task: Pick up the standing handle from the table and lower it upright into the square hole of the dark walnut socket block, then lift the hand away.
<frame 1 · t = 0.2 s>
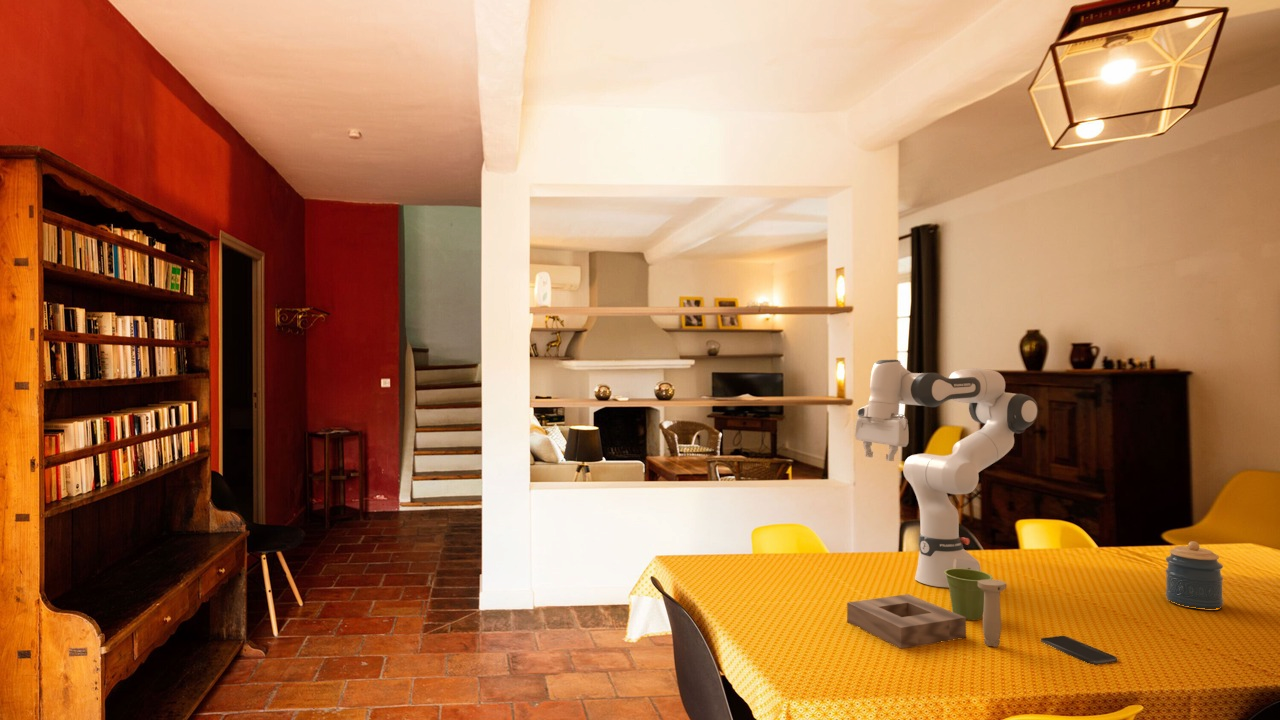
hand: (879, 458, 221), 39 cm above the table, tool pointing down, fingers open, 8 cm apart
handle: (991, 646, 177), on the table
socket block: (904, 629, 187), on the table
plant pot: (968, 617, 197), on the table
canister: (1193, 604, 209), on the table
phone: (1078, 653, 173), on the table
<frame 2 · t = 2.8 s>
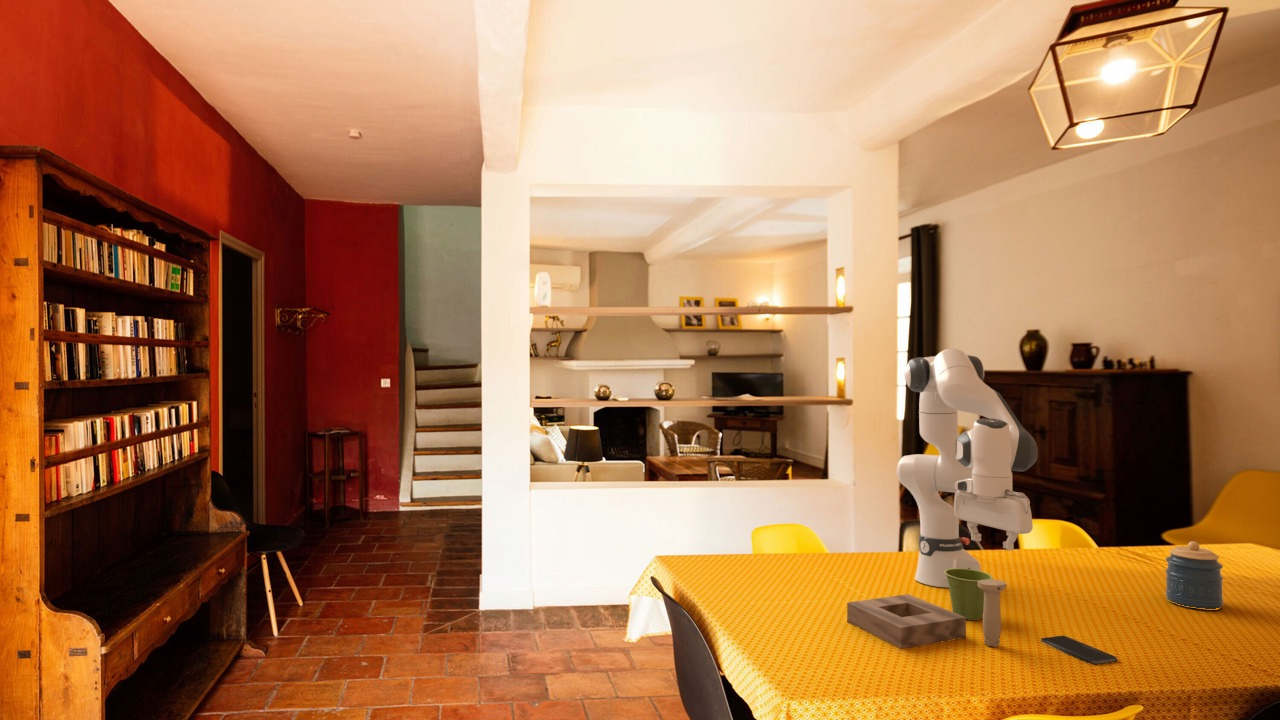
hand: (991, 545, 177), 24 cm above the table, tool pointing down, fingers open, 8 cm apart
nothing on the table moved.
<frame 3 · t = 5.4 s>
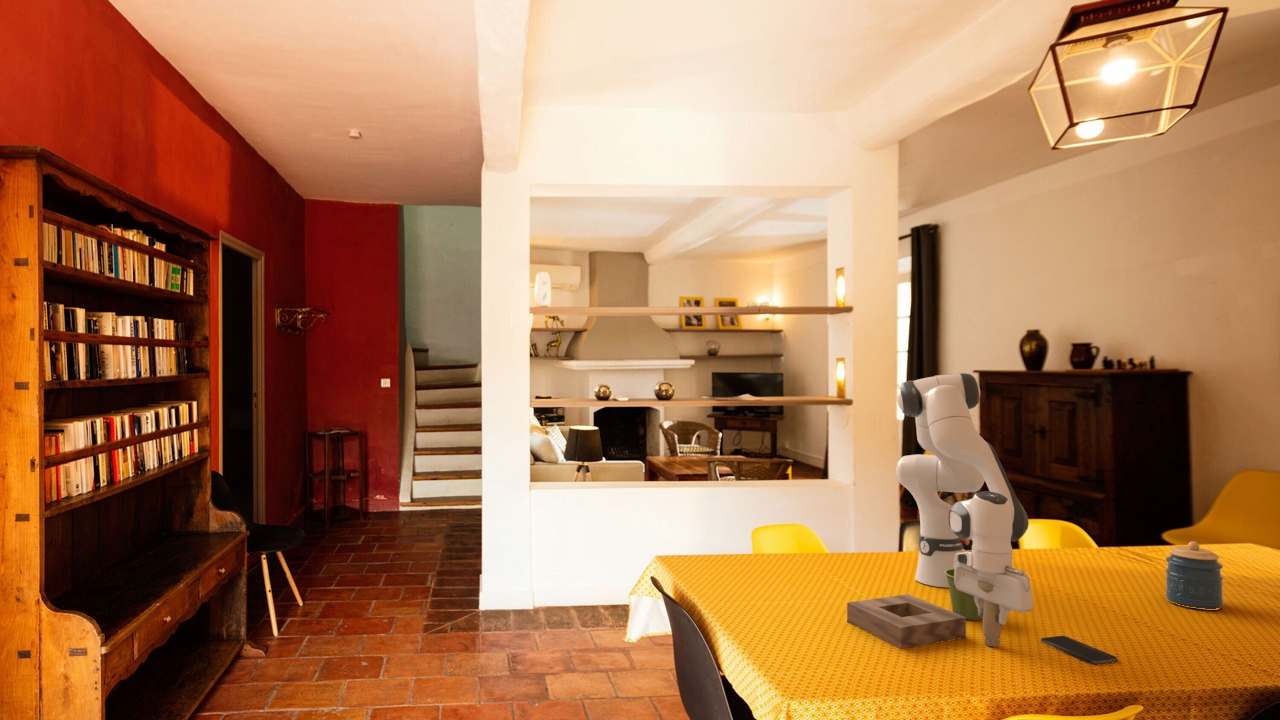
hand: (991, 619, 177), 6 cm above the table, tool pointing down, fingers closed on handle, 4 cm apart
handle: (991, 646, 177), on the table, touching gripper
everything else where it was.
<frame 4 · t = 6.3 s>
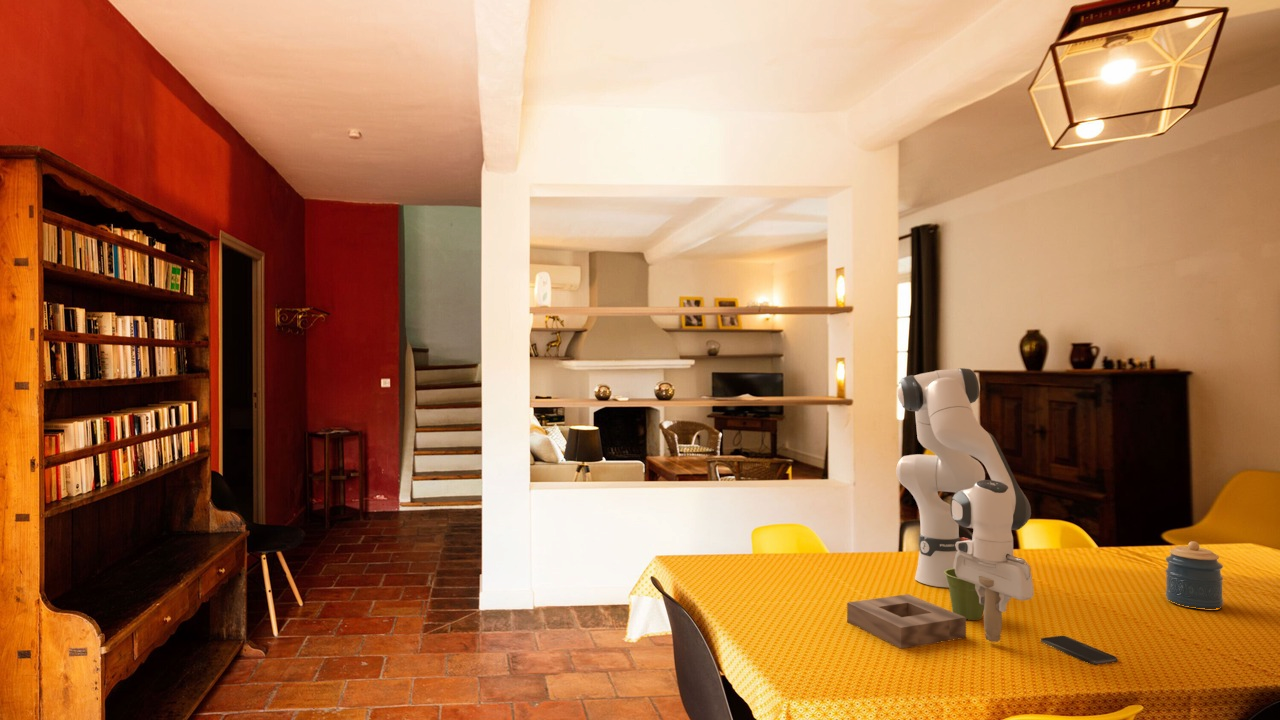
hand: (992, 607, 177), 9 cm above the table, tool pointing down, fingers closed on handle, 3 cm apart
handle: (992, 640, 177), point 1 cm above the table, touching gripper
everything else where it was.
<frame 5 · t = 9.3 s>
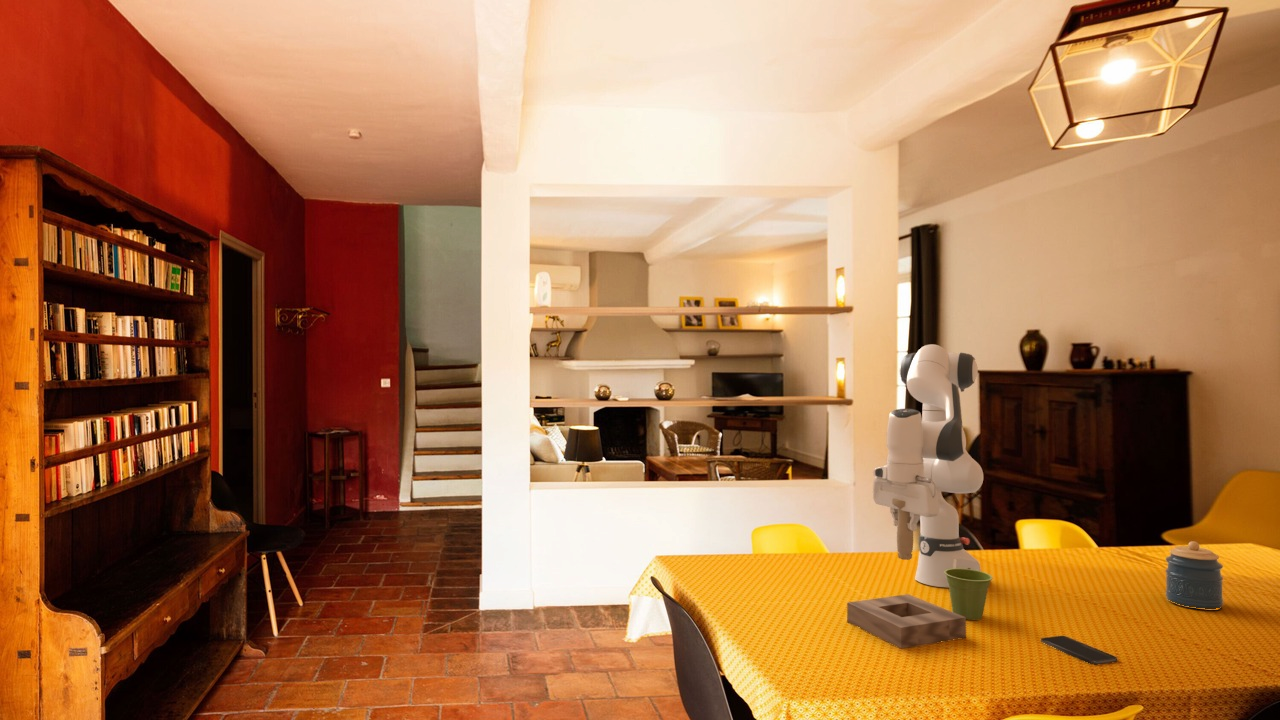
hand: (905, 528, 187), 26 cm above the table, tool pointing down, fingers closed on handle, 3 cm apart
handle: (905, 559, 187), point 18 cm above the table, touching gripper
everything else where it was.
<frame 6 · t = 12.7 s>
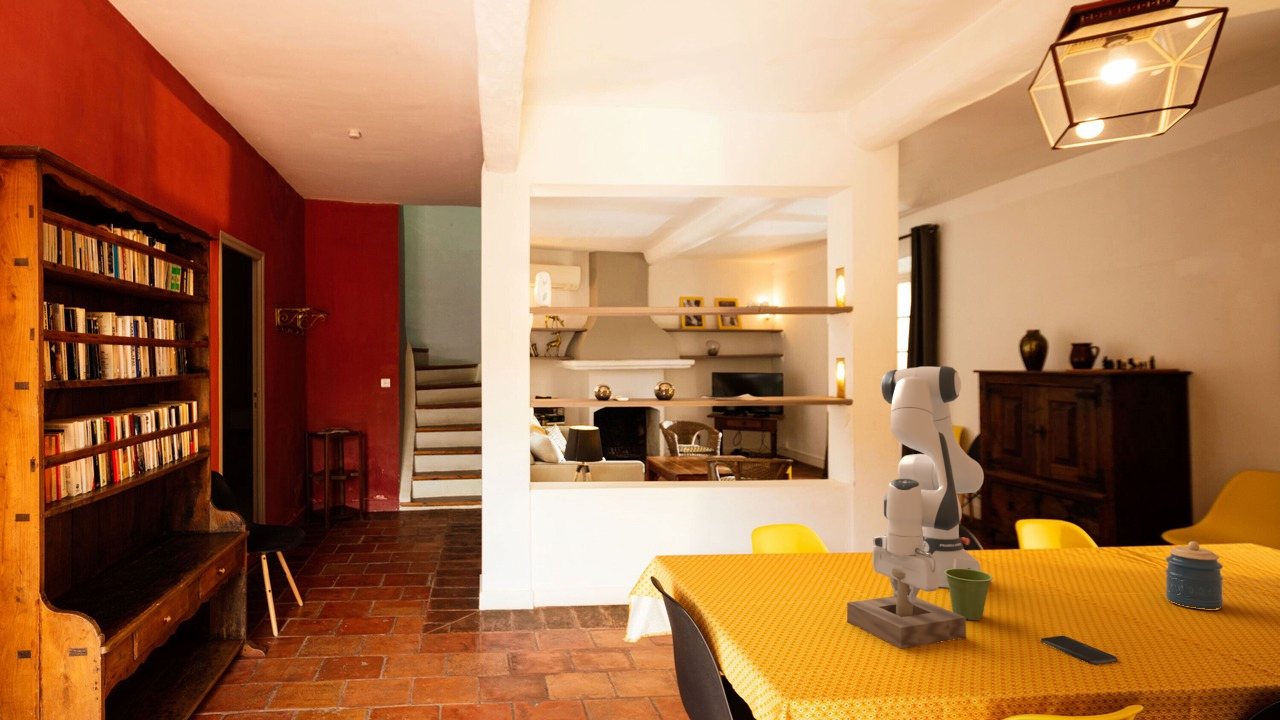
hand: (904, 599, 187), 8 cm above the table, tool pointing down, fingers closed on handle, 3 cm apart
handle: (904, 630, 187), resting in socket block, touching gripper
everything else where it was.
when the fingers open (8 cm above the table, at t = 12.7 s): handle stays where it is, resting in socket block.
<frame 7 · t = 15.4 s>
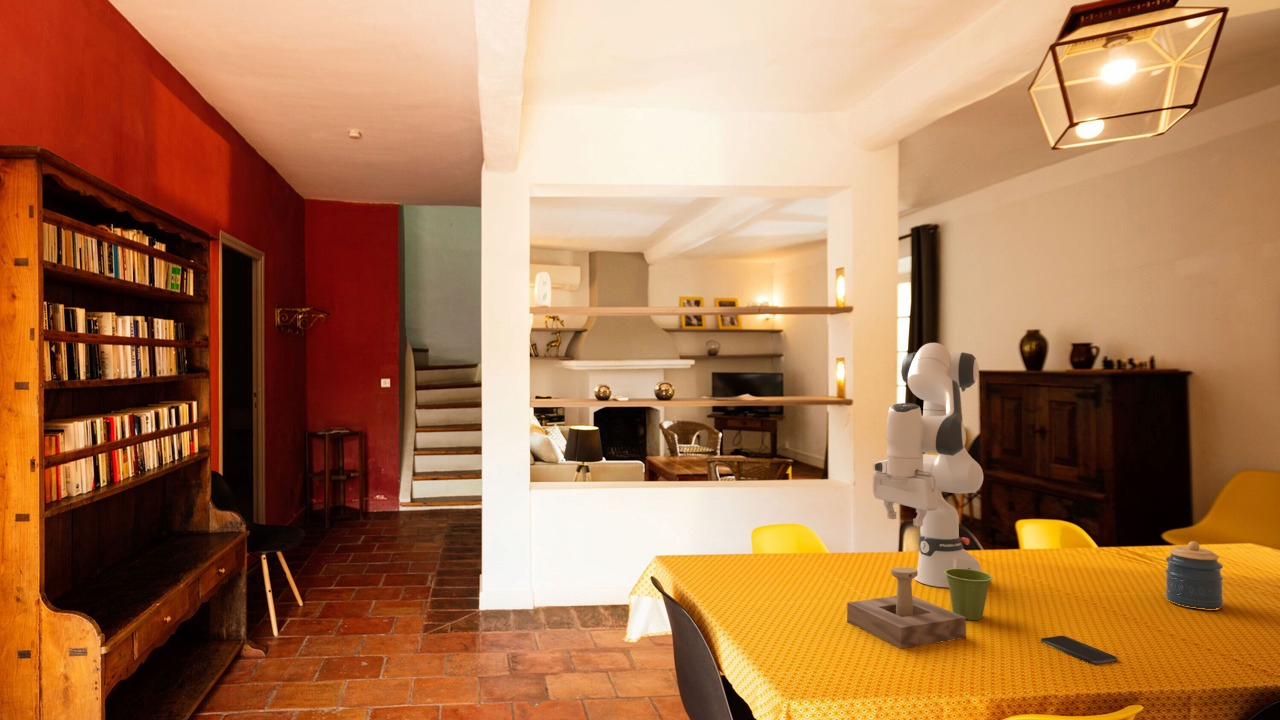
hand: (904, 522, 188), 27 cm above the table, tool pointing down, fingers open, 8 cm apart
handle: (904, 630, 187), resting in socket block
everything else where it was.
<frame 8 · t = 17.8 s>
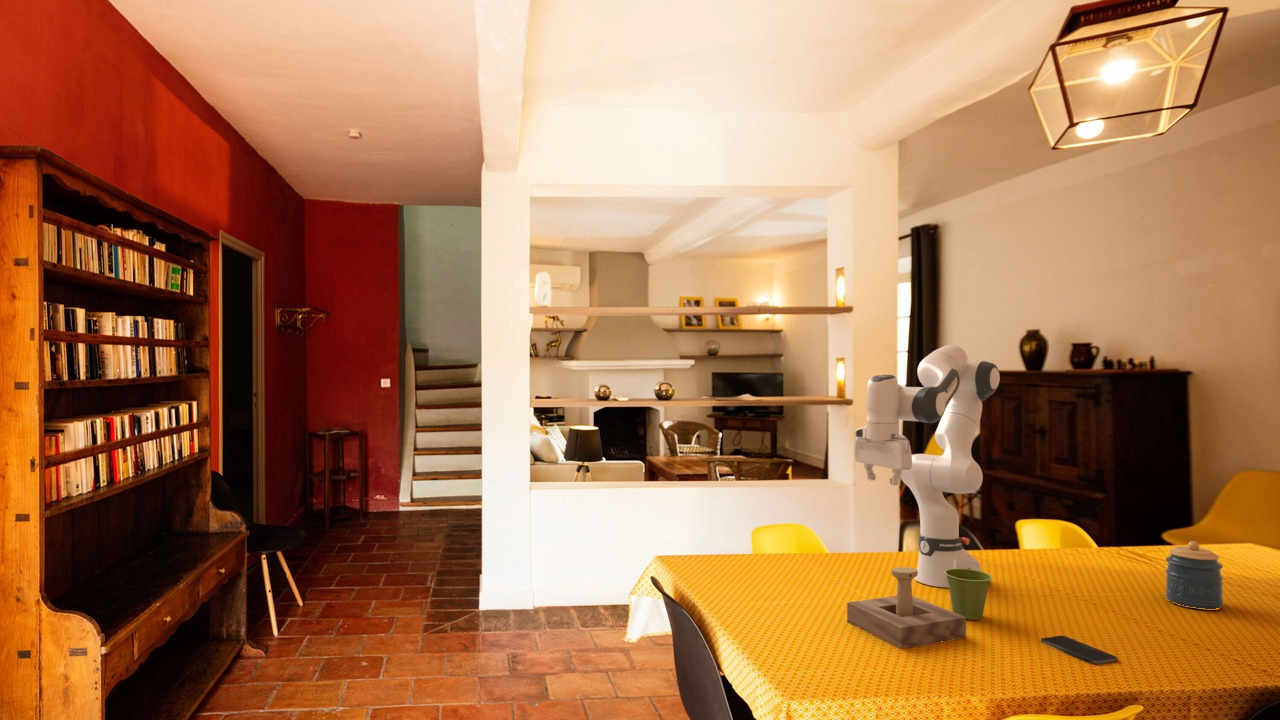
hand: (882, 482, 207), 34 cm above the table, tool pointing down, fingers open, 8 cm apart
nothing on the table moved.
at the end: handle 0.1 cm off-centre on the socket block, point 0.0 cm above the socket block's base; handle tilted 0° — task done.
